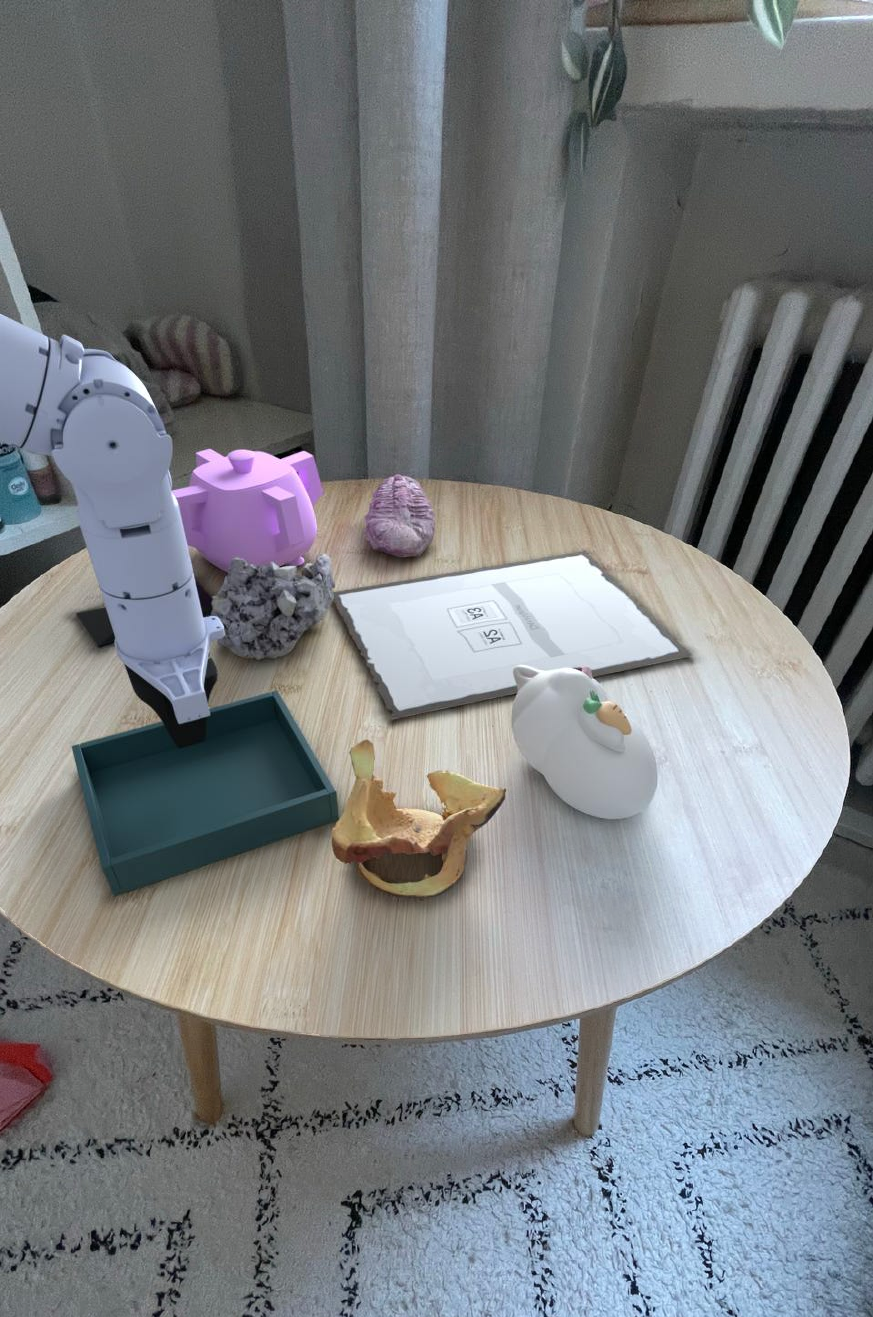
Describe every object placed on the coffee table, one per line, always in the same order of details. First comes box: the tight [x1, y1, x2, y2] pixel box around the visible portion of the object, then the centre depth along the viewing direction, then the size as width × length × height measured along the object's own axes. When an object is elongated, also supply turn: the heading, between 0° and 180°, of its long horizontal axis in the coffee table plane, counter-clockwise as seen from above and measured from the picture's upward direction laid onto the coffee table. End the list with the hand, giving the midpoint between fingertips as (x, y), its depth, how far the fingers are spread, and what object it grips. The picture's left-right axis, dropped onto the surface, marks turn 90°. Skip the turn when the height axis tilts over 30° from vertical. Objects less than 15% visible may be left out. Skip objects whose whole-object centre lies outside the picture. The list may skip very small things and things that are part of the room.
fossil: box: [363, 473, 436, 558], centre depth 88 cm, size 8×14×5 cm, turn 4°
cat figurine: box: [510, 665, 659, 820], centre depth 58 cm, size 10×8×15 cm
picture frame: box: [332, 550, 694, 720], centre depth 76 cm, size 22×1×30 cm
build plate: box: [75, 579, 213, 650], centre depth 75 cm, size 12×7×5 cm, turn 126°
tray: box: [71, 689, 340, 897], centre depth 57 cm, size 16×13×3 cm
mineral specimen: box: [210, 552, 336, 661], centre depth 72 cm, size 12×9×10 cm
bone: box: [331, 738, 507, 902], centre depth 52 cm, size 12×10×8 cm
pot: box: [171, 448, 324, 573], centre depth 81 cm, size 18×17×12 cm
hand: (190, 739), depth 58 cm, fingers closed
